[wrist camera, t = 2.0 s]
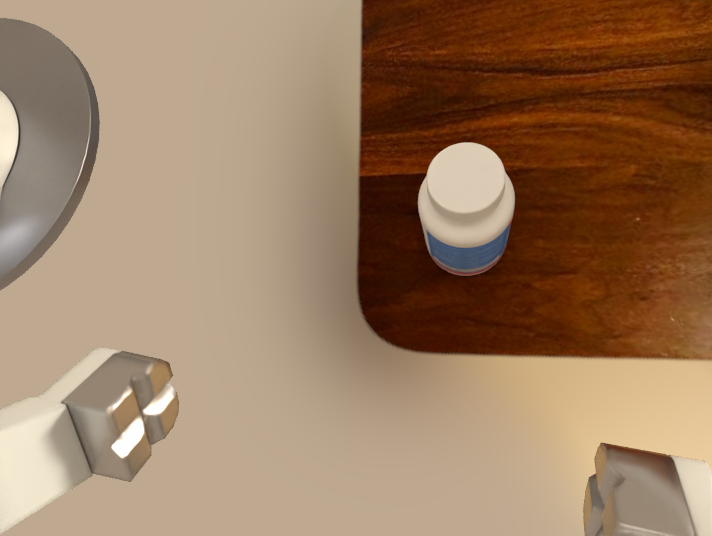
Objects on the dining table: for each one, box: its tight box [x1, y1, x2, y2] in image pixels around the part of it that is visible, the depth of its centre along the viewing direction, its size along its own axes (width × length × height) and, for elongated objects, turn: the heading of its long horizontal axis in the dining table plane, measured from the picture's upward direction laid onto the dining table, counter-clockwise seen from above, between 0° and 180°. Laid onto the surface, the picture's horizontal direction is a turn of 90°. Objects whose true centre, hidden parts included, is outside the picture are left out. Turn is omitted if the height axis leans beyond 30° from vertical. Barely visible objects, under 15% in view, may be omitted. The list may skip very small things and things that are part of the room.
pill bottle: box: [418, 143, 515, 276], centre depth 32 cm, size 6×5×10 cm
